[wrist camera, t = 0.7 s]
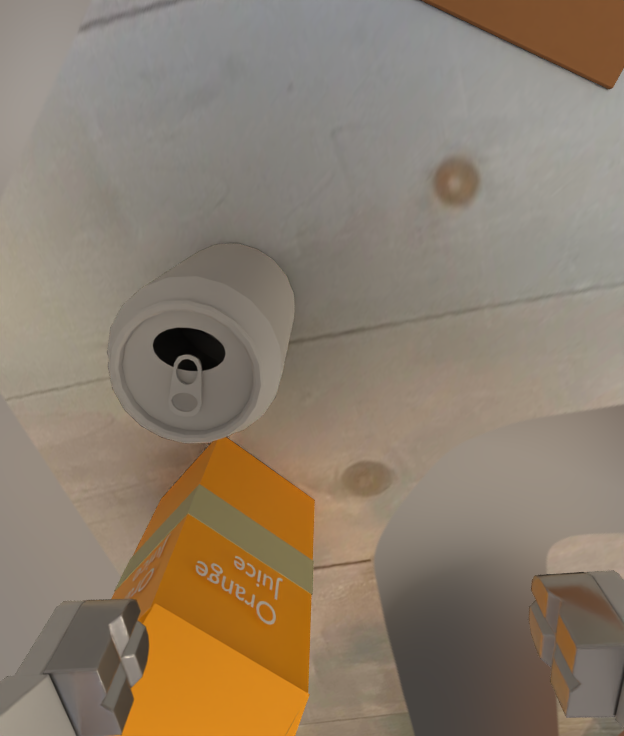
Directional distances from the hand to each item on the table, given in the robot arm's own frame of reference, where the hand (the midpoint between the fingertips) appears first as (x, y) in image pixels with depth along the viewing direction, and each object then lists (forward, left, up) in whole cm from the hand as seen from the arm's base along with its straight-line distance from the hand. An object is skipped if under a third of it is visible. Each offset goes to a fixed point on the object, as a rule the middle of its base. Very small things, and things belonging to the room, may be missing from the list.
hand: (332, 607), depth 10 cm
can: (-4, -4, -22) cm, 23 cm away
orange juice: (+8, -13, -22) cm, 27 cm away
